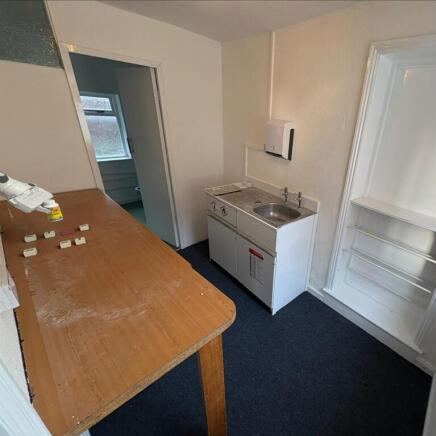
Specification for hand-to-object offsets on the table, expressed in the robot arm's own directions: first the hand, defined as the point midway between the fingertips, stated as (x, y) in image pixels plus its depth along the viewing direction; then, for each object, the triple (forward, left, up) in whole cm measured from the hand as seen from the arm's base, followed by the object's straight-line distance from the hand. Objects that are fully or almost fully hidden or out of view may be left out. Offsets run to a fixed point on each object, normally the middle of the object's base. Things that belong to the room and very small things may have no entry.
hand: (53, 209), depth 115 cm
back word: (-2, +8, -16) cm, 18 cm away
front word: (-3, -10, -16) cm, 19 cm away
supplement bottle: (-1, 0, -6) cm, 6 cm away
